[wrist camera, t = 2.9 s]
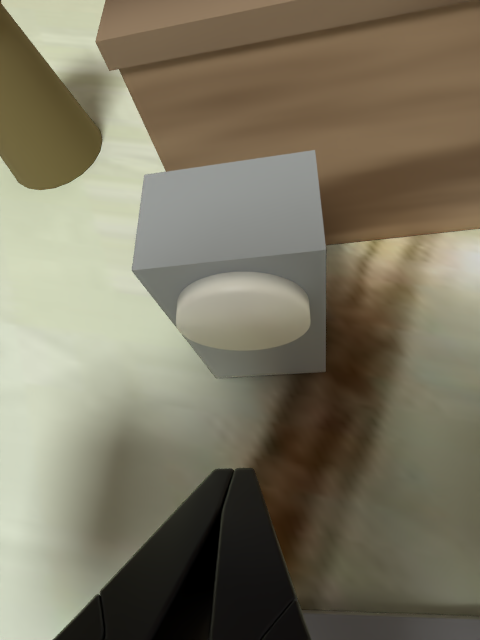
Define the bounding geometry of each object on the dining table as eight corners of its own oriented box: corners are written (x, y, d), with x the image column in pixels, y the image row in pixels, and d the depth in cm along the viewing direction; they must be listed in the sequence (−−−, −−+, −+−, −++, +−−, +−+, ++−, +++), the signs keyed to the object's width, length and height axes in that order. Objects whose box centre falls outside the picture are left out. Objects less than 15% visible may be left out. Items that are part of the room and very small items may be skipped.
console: (654, 213, 17) (1055, -157, 8) (201, 261, 20) (95, 42, 11) (609, 131, 19) (883, -239, 10) (205, 187, 22) (118, -52, 13)
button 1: (327, 386, 16) (328, 273, 9) (215, 392, 17) (128, 292, 9) (319, 305, 18) (315, 150, 10) (217, 313, 19) (144, 174, 11)
